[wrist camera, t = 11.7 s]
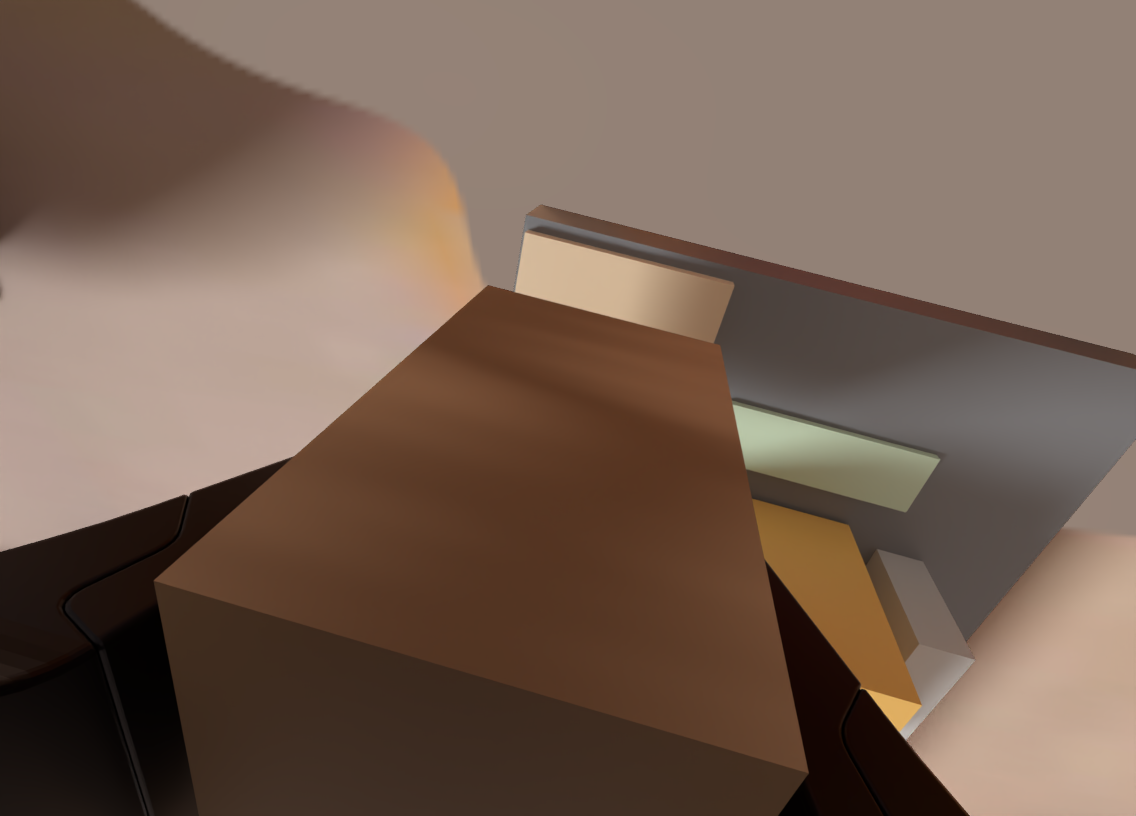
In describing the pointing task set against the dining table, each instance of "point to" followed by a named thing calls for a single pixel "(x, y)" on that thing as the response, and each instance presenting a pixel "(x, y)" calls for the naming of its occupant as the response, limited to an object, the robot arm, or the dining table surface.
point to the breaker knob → (839, 601)
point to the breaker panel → (874, 415)
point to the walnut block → (495, 593)
